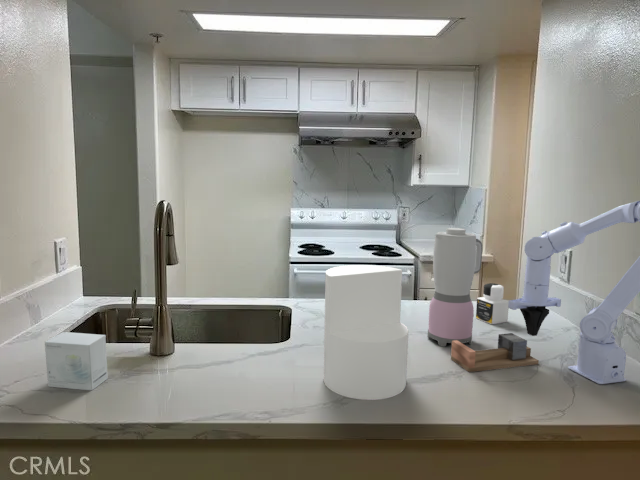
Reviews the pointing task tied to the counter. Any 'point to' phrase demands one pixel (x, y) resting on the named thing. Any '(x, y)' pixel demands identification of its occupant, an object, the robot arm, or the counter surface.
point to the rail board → (499, 364)
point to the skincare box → (76, 360)
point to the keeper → (513, 345)
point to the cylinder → (364, 332)
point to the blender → (453, 285)
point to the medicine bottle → (492, 305)
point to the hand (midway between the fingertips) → (532, 334)
